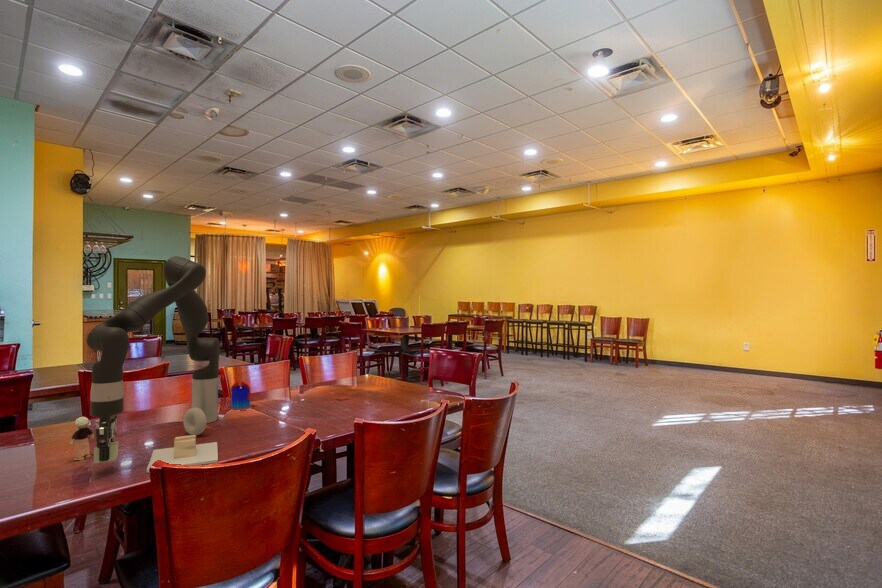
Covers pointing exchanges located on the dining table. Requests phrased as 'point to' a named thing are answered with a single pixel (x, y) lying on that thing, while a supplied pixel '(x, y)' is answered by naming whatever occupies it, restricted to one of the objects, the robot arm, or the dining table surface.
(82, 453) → the grandmother figurine
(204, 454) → the base plate
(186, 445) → the birch block
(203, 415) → the donut
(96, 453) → the sage block
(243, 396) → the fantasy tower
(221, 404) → the dining table surface
